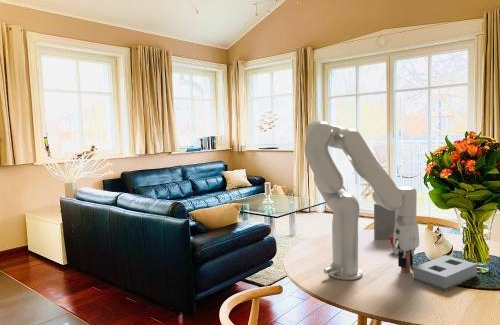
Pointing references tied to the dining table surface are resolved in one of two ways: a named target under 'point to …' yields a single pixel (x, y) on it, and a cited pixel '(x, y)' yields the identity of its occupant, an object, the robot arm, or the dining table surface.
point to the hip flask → (383, 223)
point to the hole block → (444, 272)
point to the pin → (407, 256)
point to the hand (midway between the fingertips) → (405, 265)
